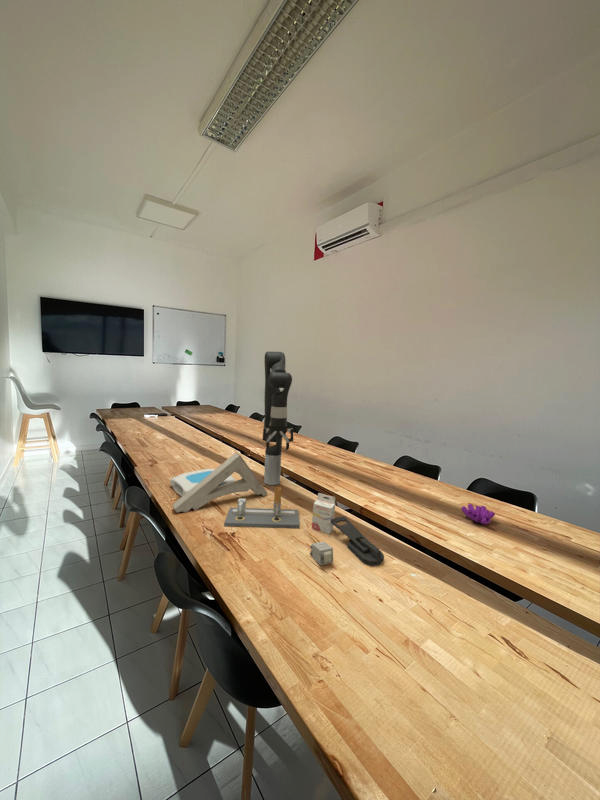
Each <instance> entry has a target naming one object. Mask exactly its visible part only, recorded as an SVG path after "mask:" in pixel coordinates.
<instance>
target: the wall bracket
mask: <svg viewBox="0 0 600 800" xmlns="http://www.w3.org/2000/svg"><path fill="white" fill-rule="evenodd" d="M214 469H215V470H214V471H213V472H211V473H210V474H209V475H208V476H207V477H205V478H204V479H203V480H202V481H200V482H199V483H198V484H197V485H196V486H194V487H193V488H192V489H191V490H189V491H188V492H187V493H186V494H185V495H183V496H180V498H179V499H177V500H176V501H175V502H173V503H172V508H173V510H174V511H175V512H176V513H177V514H178V513H180V512H184V513H188V512H189V511H190V510H191V509H193V511H197V510H198V509H200V508H202V507H203V506H205V505H206V504H208V503H209V502H211V501H213V500H215V499H218V498H221V497H223V496H227V495H231V494H235V493H245V492H249V491H252V493H254V494H255V495H258V496H259V495H261V496H262V497H265V496H266V495H268V494H269V493H268V491H267V490H266V489H265V487H264V486H263V485H262V483H261V482H260V480H259V479H258V478H257V476H256V474H254V472H253V471H252V469H251V468H250V466H249V465H248V463H247V462H246V460H244V459H243V457H242V455H241V454H240V453H239V452H235V453H234V454H232V455H231V456H230V457H228V458H227V459H226V460H225V461H224V462H222V463H221V464H220V465H218V466H217V467H216V468H214ZM236 472H237V473H238V474H239V476H240V477H241V478H240V479H237V480H235V481H234V482H230V483H227V484H224V485H221V486H219V485H220V484H221V483H222V482H223V481H224V480H226V479H227V478H228V477H229V476H230V475H232V476H233V474H234V473H236Z"/></svg>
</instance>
